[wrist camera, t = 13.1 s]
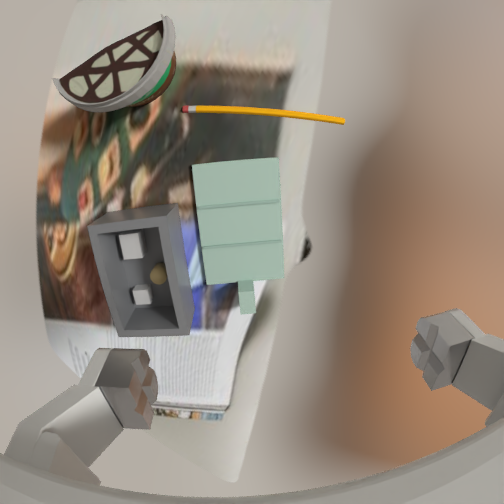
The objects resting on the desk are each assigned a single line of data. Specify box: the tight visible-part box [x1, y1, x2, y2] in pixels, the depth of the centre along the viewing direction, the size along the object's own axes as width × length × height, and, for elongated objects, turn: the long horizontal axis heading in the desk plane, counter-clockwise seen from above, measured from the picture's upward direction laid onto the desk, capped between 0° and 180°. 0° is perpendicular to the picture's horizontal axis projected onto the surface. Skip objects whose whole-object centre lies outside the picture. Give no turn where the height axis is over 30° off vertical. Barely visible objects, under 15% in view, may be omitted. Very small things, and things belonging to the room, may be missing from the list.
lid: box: [192, 157, 284, 314], centre depth 34 cm, size 17×10×4 cm, turn 4°
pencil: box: [182, 106, 345, 125], centre depth 31 cm, size 1×18×1 cm, turn 86°
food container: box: [53, 15, 176, 112], centre depth 24 cm, size 12×6×10 cm, turn 111°
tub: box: [87, 203, 195, 337], centre depth 34 cm, size 14×9×6 cm, turn 4°
